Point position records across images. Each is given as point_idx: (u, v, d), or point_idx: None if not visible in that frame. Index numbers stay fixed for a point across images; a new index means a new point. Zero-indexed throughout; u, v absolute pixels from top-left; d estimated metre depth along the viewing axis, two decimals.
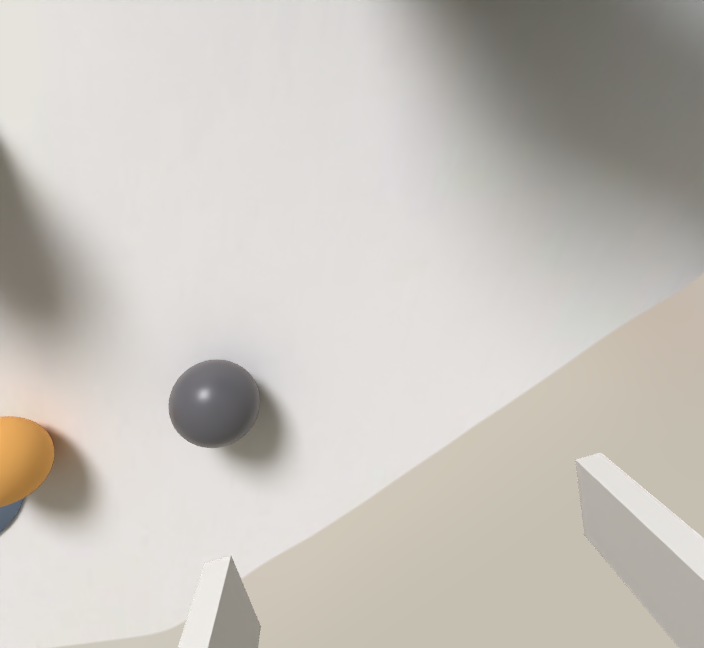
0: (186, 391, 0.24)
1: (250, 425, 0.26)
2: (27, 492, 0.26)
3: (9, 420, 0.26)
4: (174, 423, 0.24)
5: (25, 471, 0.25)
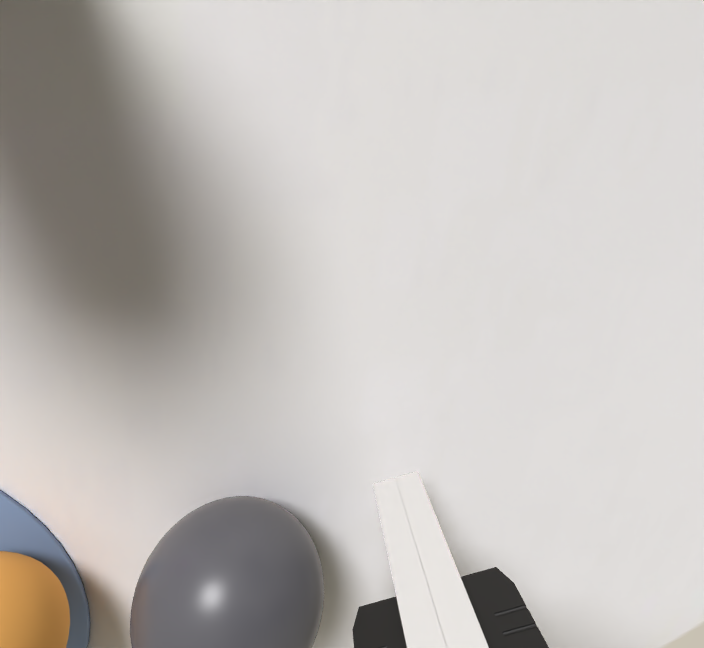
0: None
1: None
2: None
3: None
4: None
5: None
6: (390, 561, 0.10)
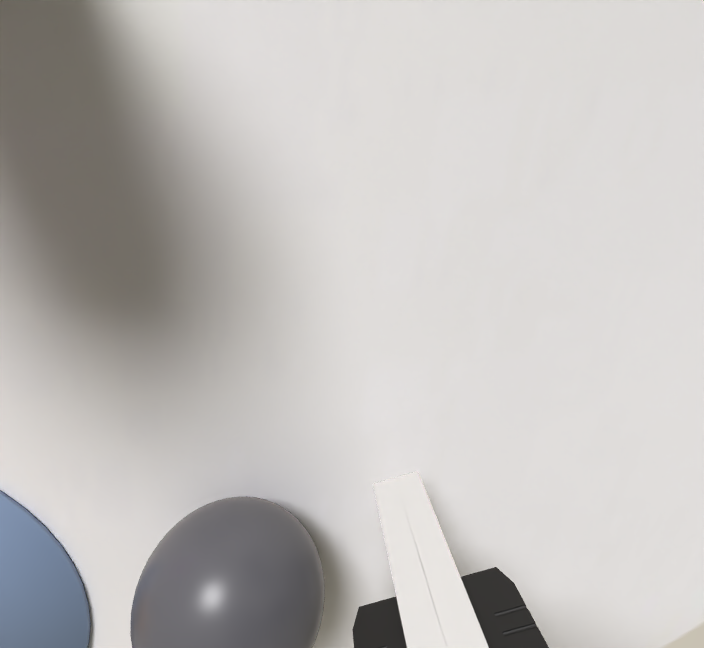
0: None
1: None
2: None
3: None
4: None
5: None
6: (390, 561, 0.10)
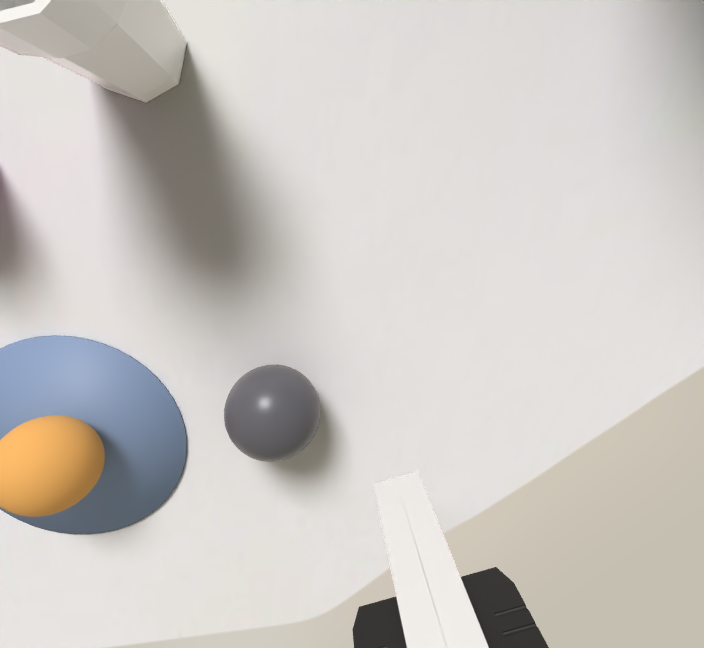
0: None
1: None
2: None
3: None
4: None
5: None
6: (390, 561, 0.10)
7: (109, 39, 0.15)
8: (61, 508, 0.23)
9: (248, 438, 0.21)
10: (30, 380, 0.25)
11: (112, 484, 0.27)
